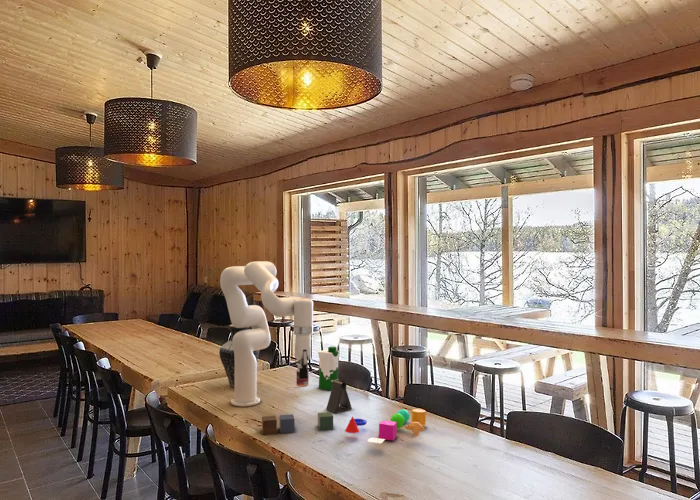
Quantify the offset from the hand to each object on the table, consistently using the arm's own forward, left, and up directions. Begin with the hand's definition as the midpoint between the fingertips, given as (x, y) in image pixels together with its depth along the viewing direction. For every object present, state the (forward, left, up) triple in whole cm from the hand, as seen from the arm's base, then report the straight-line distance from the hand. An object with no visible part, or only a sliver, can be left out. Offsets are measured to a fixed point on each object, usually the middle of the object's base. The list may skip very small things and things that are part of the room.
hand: (302, 376), depth 198 cm
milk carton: (-44, +19, -17) cm, 51 cm away
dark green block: (+10, +7, -17) cm, 21 cm away
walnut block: (+10, -14, -17) cm, 24 cm away
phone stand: (-10, +17, -17) cm, 26 cm away
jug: (-58, -23, -17) cm, 65 cm away
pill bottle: (0, 0, -4) cm, 4 cm away
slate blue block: (+10, -7, -17) cm, 21 cm away
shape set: (+22, +28, -17) cm, 40 cm away
